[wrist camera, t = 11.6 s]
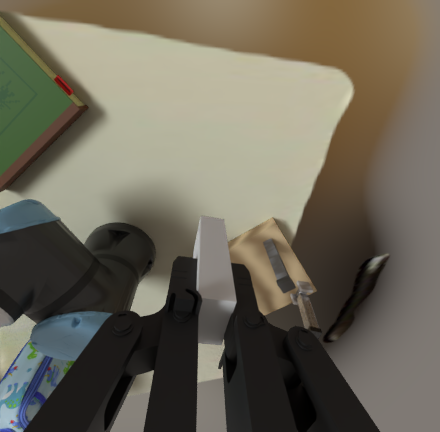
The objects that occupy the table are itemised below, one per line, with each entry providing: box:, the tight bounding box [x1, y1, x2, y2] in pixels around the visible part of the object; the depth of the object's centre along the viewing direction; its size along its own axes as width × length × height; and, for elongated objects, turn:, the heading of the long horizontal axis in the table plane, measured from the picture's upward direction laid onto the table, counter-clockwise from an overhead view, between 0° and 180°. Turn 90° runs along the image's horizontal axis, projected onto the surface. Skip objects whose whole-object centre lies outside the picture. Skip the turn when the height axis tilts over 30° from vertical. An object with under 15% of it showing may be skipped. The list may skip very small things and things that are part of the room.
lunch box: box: [0, 339, 75, 432], centre depth 62 cm, size 26×11×21 cm, turn 177°
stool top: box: [228, 217, 317, 315], centre depth 53 cm, size 24×24×16 cm
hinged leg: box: [295, 288, 322, 339], centre depth 54 cm, size 13×3×2 cm
